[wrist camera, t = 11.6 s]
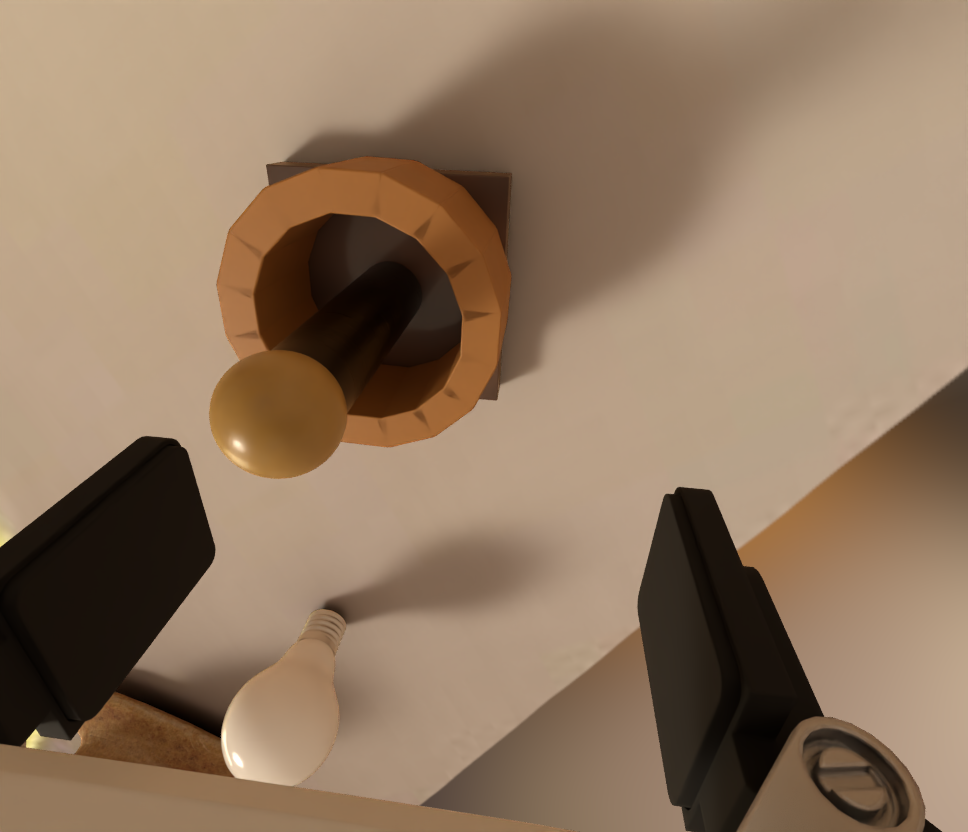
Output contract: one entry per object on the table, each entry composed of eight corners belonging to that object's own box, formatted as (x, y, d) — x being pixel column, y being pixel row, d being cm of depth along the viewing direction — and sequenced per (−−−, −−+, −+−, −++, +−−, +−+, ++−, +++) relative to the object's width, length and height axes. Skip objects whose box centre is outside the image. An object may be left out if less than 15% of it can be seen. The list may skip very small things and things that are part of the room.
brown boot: (72, 722, 49) (-100, 940, 36) (102, 660, 44) (-89, 892, 31) (223, 787, 52) (114, 1011, 39) (269, 738, 47) (159, 979, 34)
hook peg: (351, 251, 23) (163, 378, 12) (428, 256, 23) (309, 390, 12) (357, 326, 25) (198, 498, 14) (429, 331, 25) (326, 511, 13)
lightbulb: (360, 580, 36) (289, 750, 26) (385, 644, 38) (330, 817, 29) (273, 584, 37) (176, 748, 27) (304, 645, 40) (226, 813, 30)
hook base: (282, 161, 23) (265, 164, 22) (512, 173, 22) (509, 176, 21) (311, 370, 28) (298, 384, 27) (499, 386, 27) (497, 400, 26)
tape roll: (264, 147, 21) (191, 155, 17) (521, 169, 21) (513, 183, 16) (292, 379, 27) (242, 430, 22) (499, 402, 26) (489, 460, 22)
